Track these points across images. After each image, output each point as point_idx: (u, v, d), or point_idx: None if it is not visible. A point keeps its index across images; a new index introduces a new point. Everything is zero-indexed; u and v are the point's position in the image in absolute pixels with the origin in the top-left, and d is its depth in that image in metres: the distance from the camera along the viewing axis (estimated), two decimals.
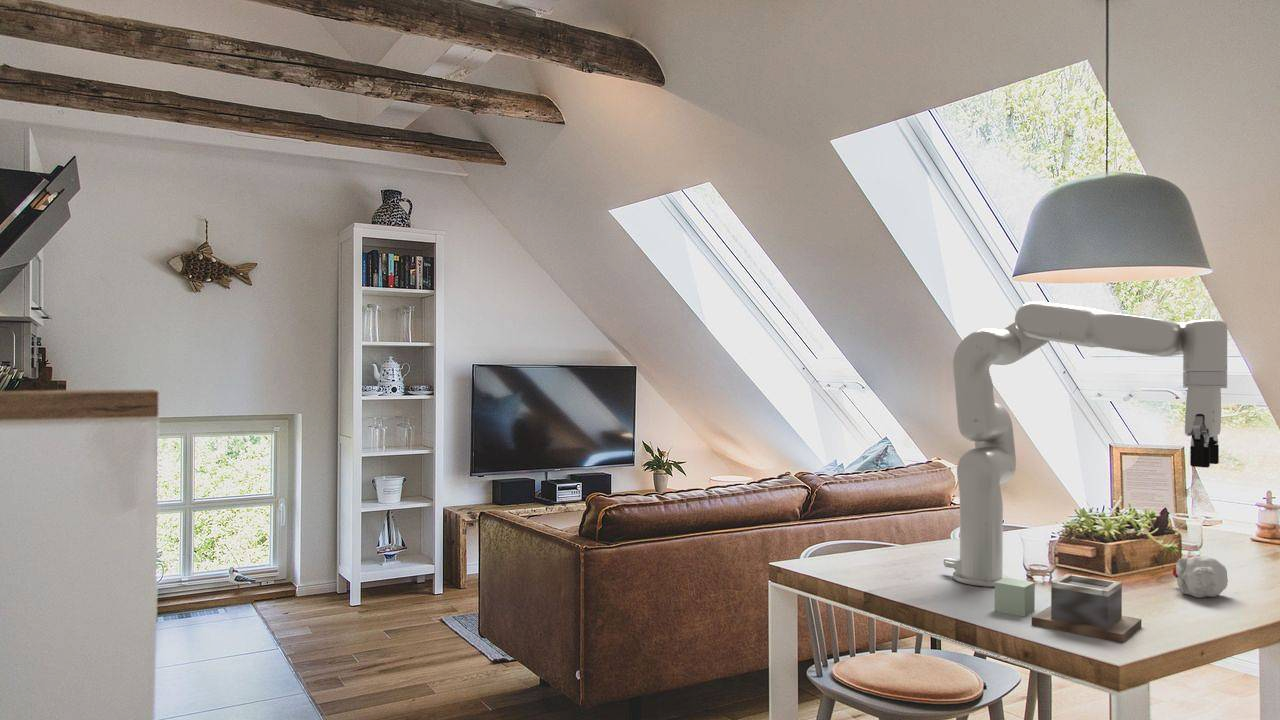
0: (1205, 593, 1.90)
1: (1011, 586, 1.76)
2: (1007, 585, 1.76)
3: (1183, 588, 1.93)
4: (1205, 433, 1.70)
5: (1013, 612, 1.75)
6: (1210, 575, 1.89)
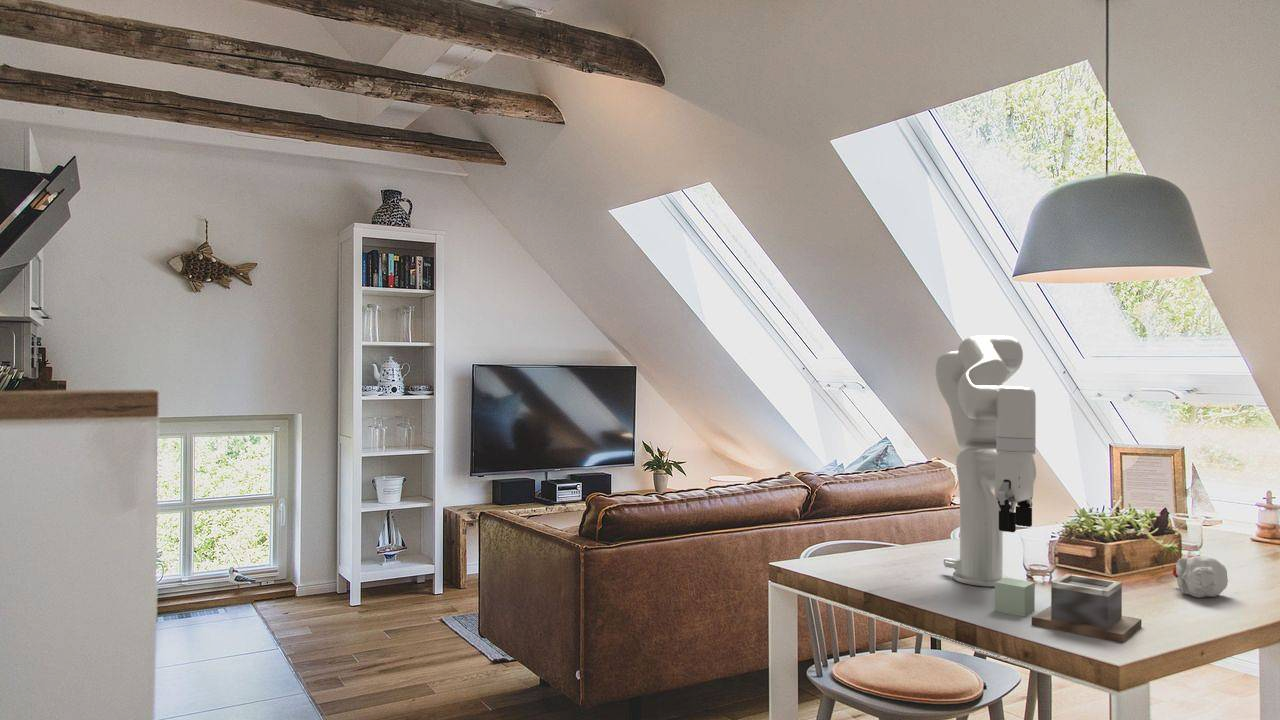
0: (1205, 593, 1.90)
1: (1011, 586, 1.76)
2: (1007, 585, 1.76)
3: (1183, 588, 1.93)
4: (1012, 498, 1.74)
5: (1013, 612, 1.75)
6: (1210, 575, 1.89)
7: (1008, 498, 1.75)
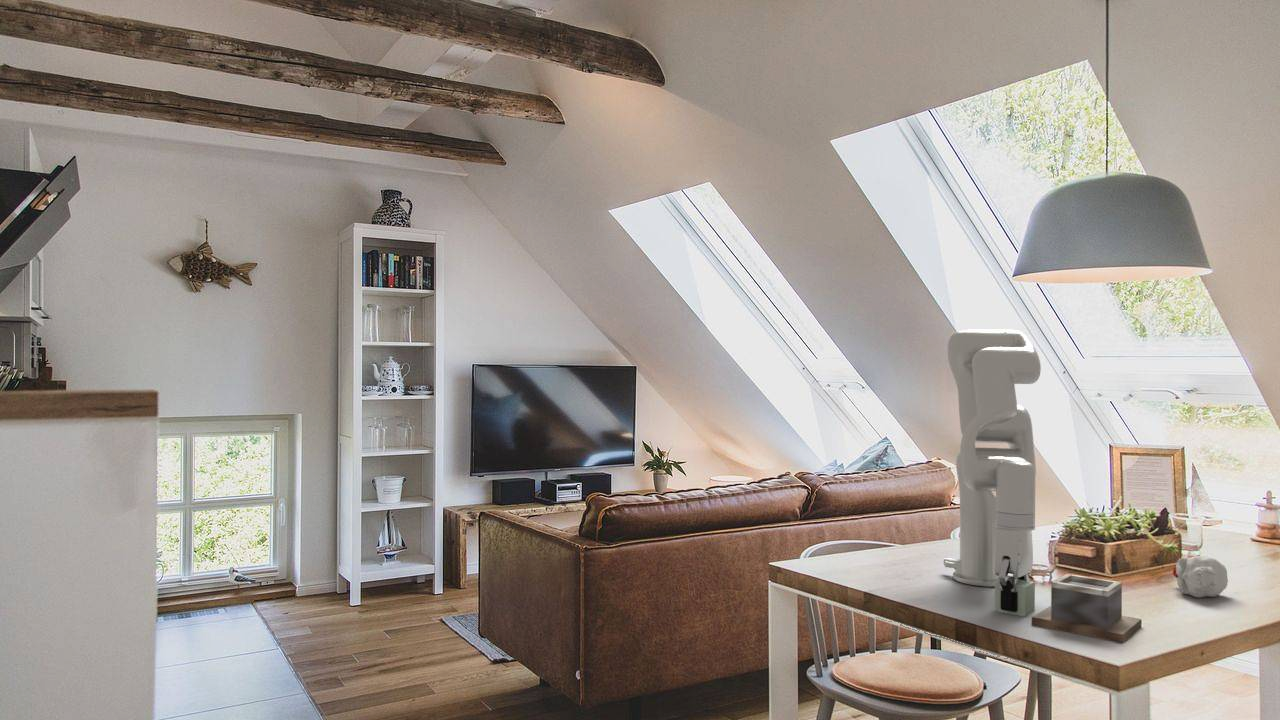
0: (1205, 593, 1.90)
1: None
2: None
3: (1183, 588, 1.93)
4: (1012, 578, 1.75)
5: (1013, 612, 1.75)
6: (1210, 575, 1.89)
7: (1009, 577, 1.75)
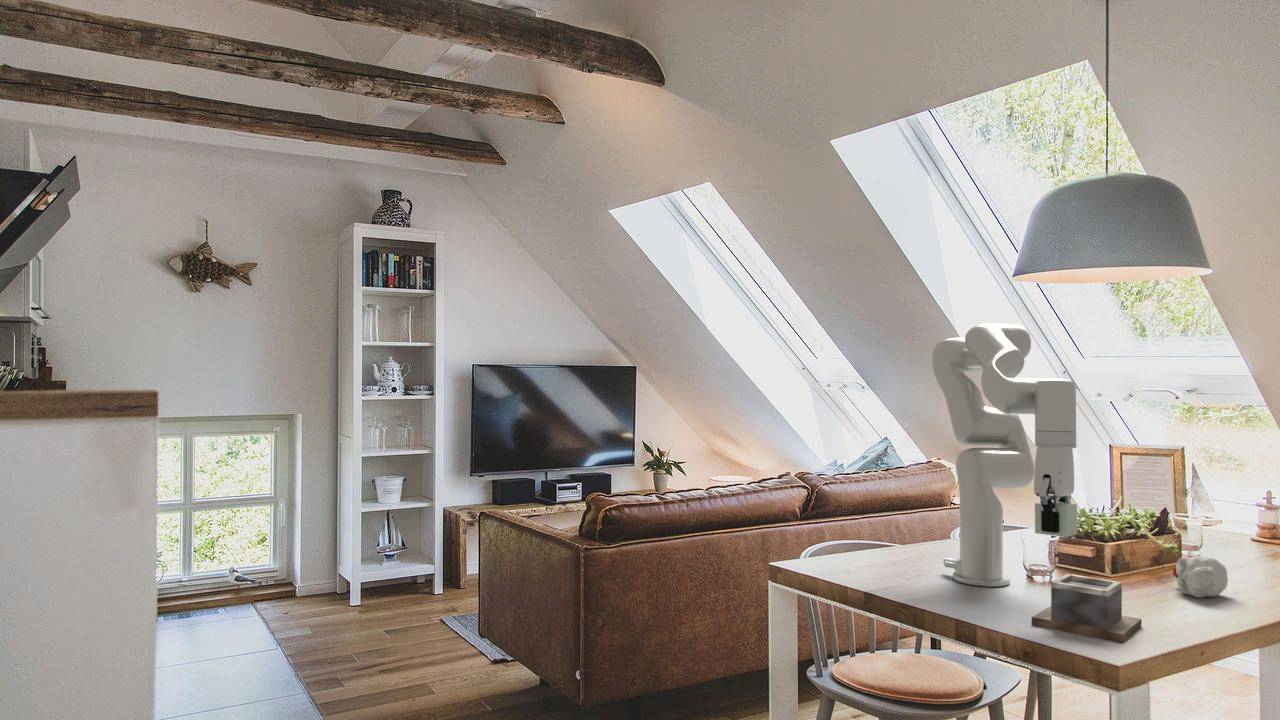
0: (1205, 593, 1.90)
1: None
2: None
3: (1183, 588, 1.93)
4: (1053, 497, 1.69)
5: (1055, 533, 1.69)
6: (1210, 575, 1.89)
7: (1050, 497, 1.70)
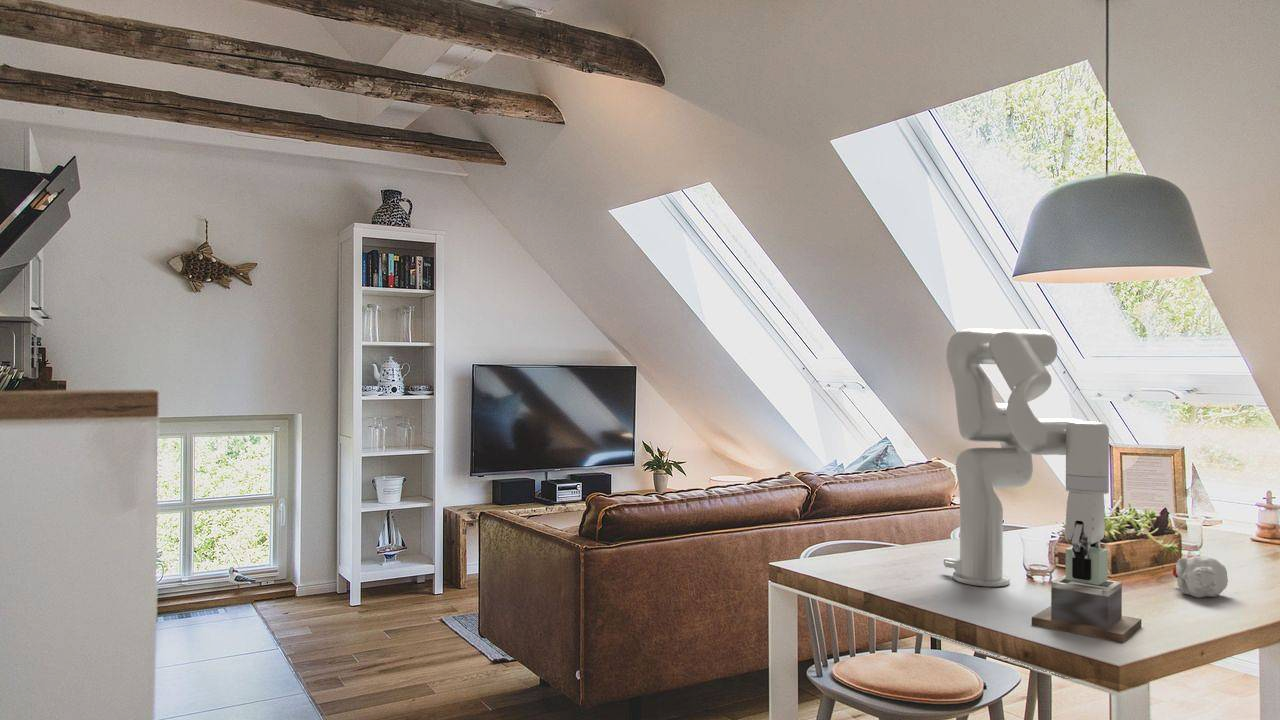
0: (1205, 593, 1.90)
1: None
2: None
3: (1183, 588, 1.93)
4: (1085, 544, 1.65)
5: (1086, 580, 1.65)
6: (1210, 575, 1.89)
7: (1081, 543, 1.65)
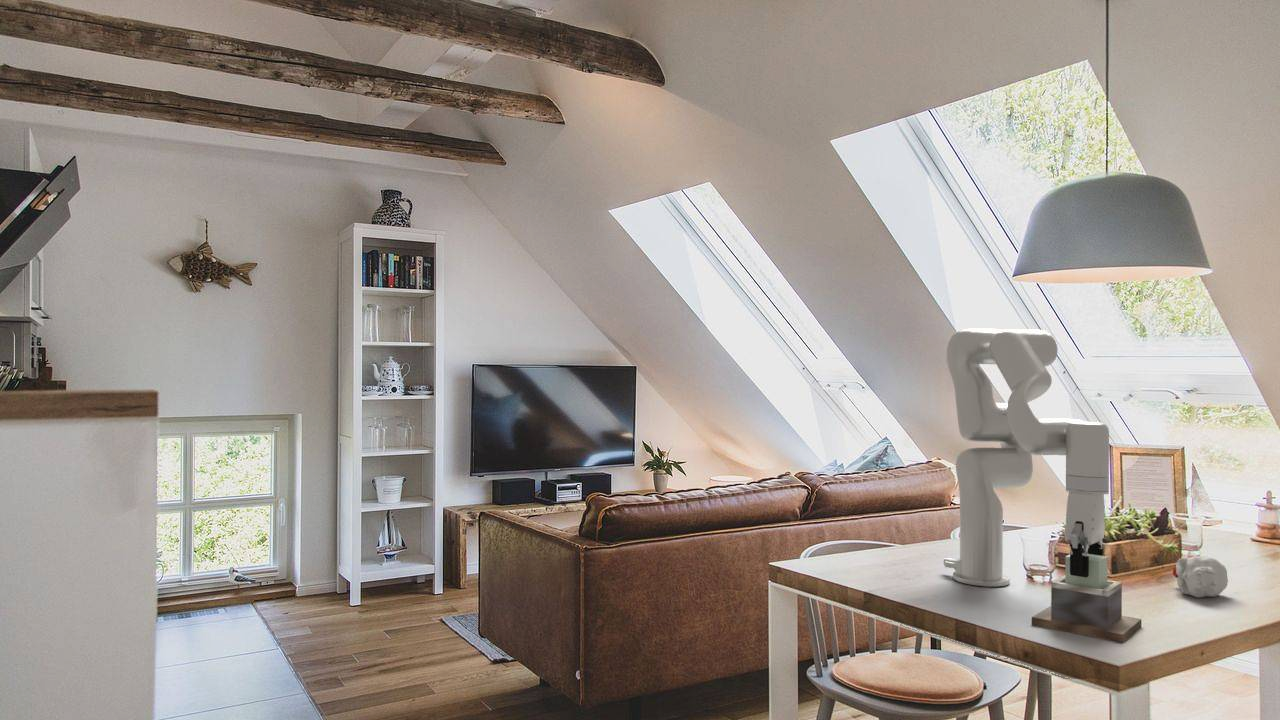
0: (1205, 593, 1.90)
1: None
2: None
3: (1183, 588, 1.93)
4: (1084, 541, 1.64)
5: None
6: (1210, 575, 1.89)
7: (1080, 541, 1.65)
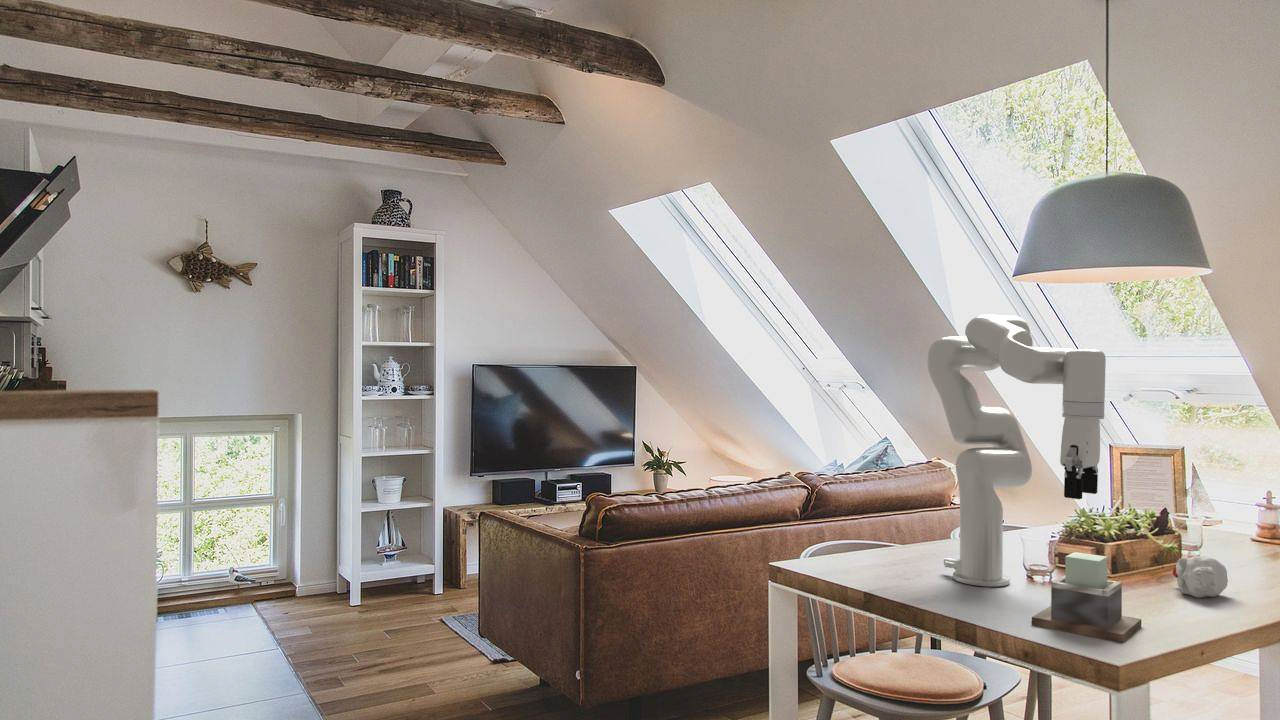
0: (1205, 593, 1.90)
1: (1084, 560, 1.66)
2: (1079, 559, 1.66)
3: (1183, 588, 1.93)
4: (1079, 464, 1.69)
5: None
6: (1210, 575, 1.89)
7: (1075, 464, 1.69)
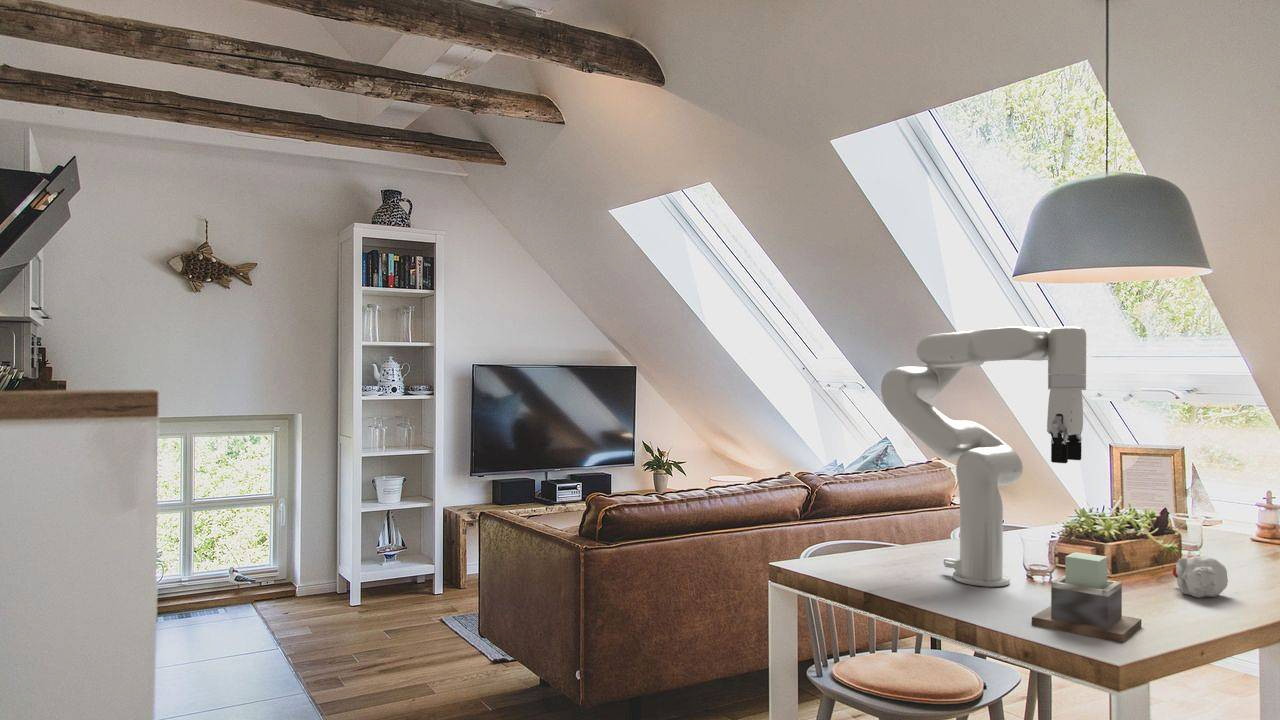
0: (1205, 593, 1.90)
1: (1084, 560, 1.66)
2: (1079, 559, 1.66)
3: (1183, 588, 1.93)
4: (1064, 431, 1.84)
5: None
6: (1210, 575, 1.89)
7: (1060, 431, 1.84)
